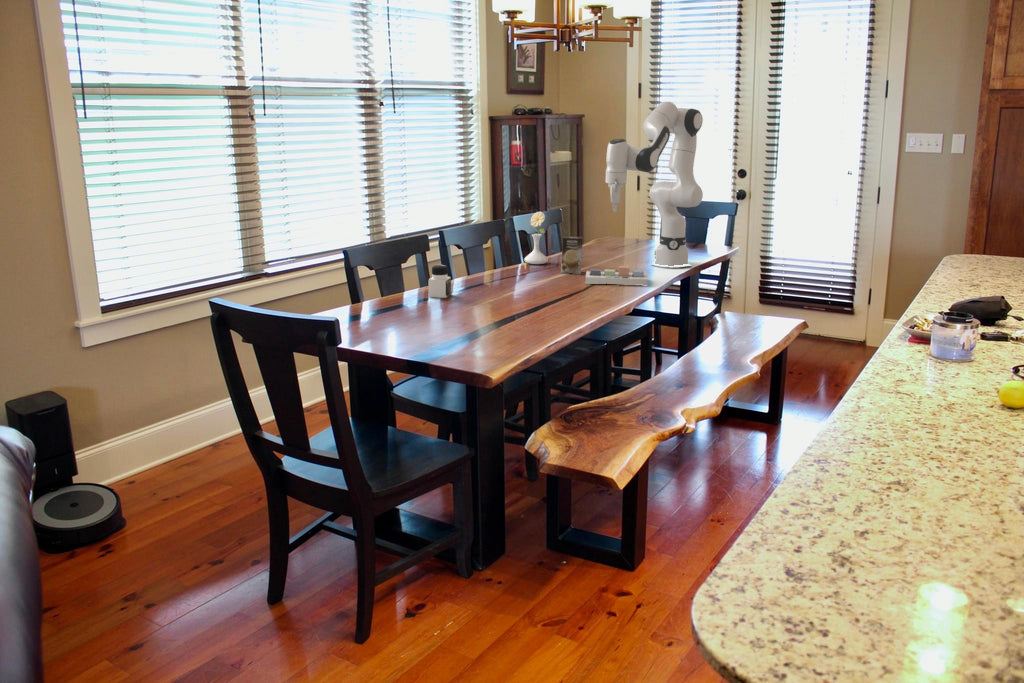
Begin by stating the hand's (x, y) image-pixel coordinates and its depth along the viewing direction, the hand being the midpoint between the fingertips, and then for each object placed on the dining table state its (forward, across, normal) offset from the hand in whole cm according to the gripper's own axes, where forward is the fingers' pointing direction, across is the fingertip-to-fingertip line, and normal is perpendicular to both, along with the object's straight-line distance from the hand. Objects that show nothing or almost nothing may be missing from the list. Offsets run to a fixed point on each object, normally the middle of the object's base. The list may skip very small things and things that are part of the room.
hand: (614, 211), depth 365 cm
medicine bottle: (+29, -45, +67) cm, 86 cm away
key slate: (+29, -6, -11) cm, 31 cm away
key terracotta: (+27, -6, -5) cm, 28 cm away
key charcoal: (+29, -6, +7) cm, 30 cm away
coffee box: (+29, +12, +18) cm, 36 cm away
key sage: (+29, -6, +1) cm, 29 cm away
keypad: (+29, -6, -2) cm, 30 cm away
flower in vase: (+29, +31, +35) cm, 55 cm away
